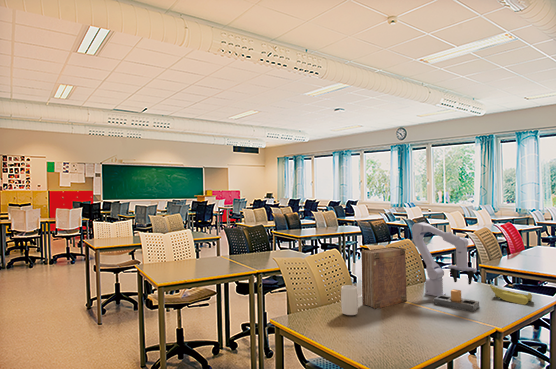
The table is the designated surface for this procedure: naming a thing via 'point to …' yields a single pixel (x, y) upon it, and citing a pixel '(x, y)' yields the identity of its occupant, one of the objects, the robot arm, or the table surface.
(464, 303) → the grey compartment tray
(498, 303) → the table surface
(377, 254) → the book
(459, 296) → the peg
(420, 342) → the table surface
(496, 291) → the banana
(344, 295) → the cup
